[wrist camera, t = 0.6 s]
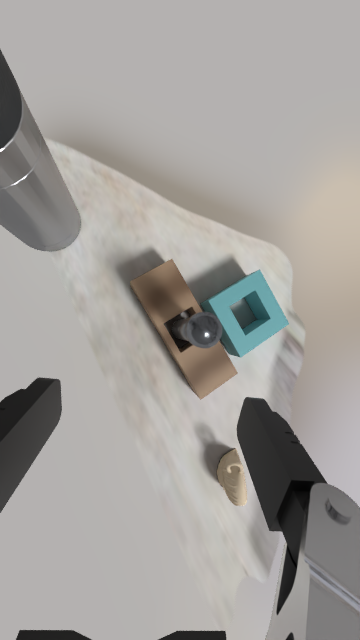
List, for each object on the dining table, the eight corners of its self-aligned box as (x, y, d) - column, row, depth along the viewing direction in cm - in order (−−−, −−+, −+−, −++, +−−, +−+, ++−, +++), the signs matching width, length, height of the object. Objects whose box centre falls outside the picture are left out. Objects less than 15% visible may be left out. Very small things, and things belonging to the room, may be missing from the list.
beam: (130, 286, 34) (130, 281, 30) (168, 265, 35) (172, 258, 32) (194, 392, 35) (200, 399, 32) (228, 368, 36) (237, 373, 33)
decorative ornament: (219, 495, 35) (234, 524, 30) (213, 444, 36) (227, 465, 30) (241, 488, 36) (260, 515, 31) (235, 439, 36) (253, 458, 31)
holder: (200, 303, 36) (208, 300, 32) (246, 275, 38) (259, 269, 34) (229, 354, 37) (240, 357, 33) (273, 324, 39) (289, 323, 35)
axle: (164, 325, 34) (180, 323, 23) (185, 312, 35) (210, 304, 24) (177, 346, 35) (199, 355, 23) (197, 333, 36) (228, 336, 24)
